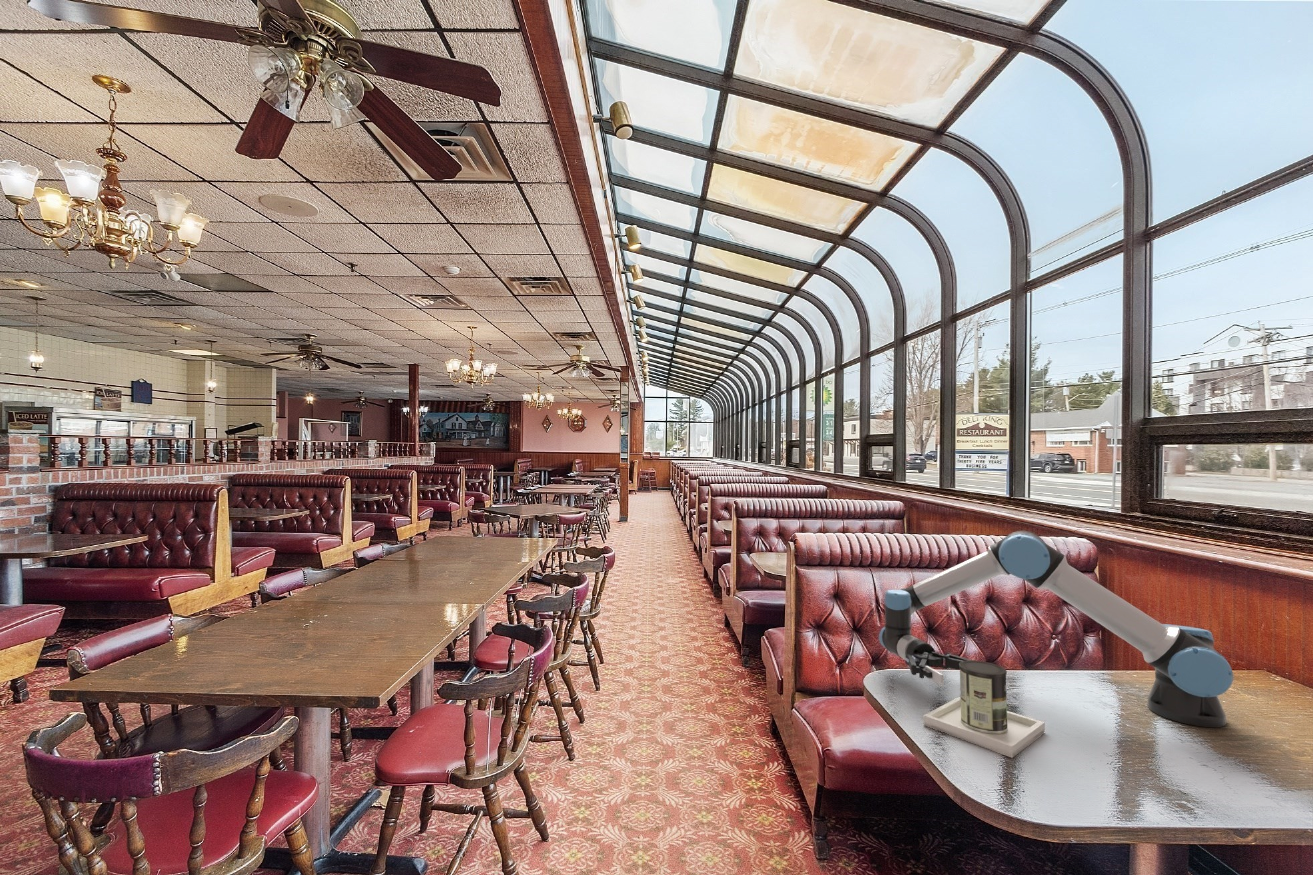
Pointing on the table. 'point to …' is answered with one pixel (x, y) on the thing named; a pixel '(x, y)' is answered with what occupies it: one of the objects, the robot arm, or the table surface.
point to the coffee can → (983, 696)
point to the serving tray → (1006, 743)
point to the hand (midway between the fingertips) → (966, 678)
